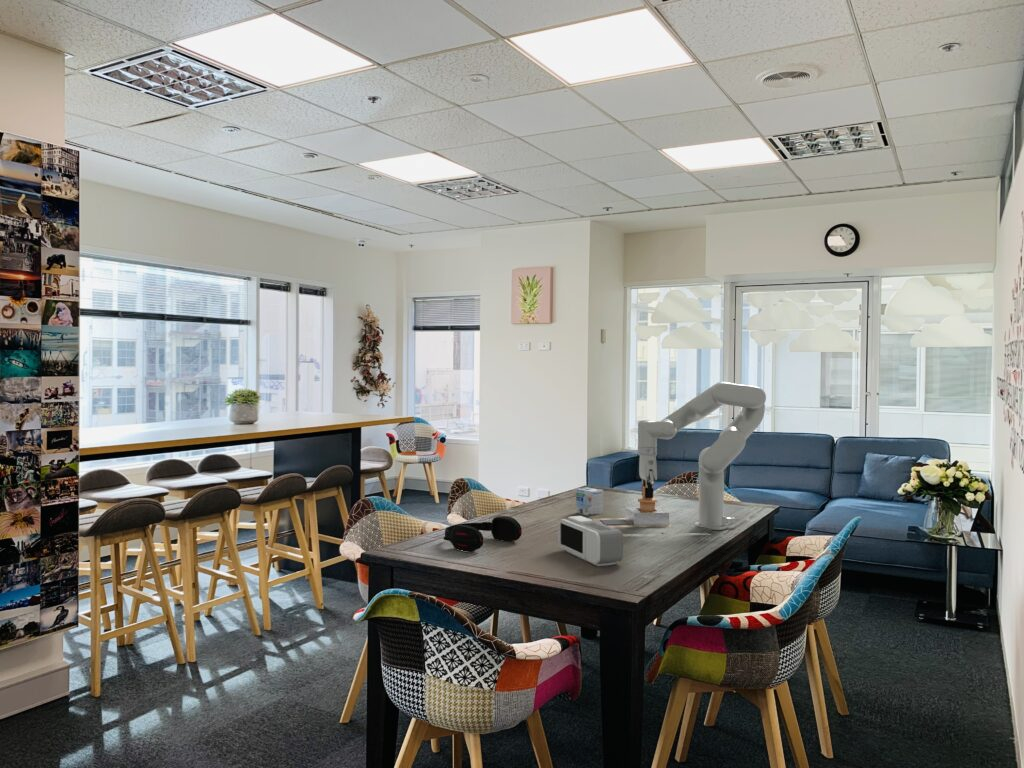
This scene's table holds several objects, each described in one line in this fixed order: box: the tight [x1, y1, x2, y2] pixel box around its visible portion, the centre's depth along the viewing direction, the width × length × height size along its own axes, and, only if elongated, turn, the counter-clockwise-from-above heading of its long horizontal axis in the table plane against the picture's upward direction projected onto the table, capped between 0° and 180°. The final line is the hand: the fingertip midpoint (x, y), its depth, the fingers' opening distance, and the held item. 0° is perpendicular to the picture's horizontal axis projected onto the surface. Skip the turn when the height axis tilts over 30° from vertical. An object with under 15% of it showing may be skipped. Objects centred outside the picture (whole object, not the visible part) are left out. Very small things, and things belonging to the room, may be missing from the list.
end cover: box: [637, 486, 658, 512], centre depth 310 cm, size 8×8×11 cm
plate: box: [592, 506, 674, 529], centre depth 310 cm, size 28×18×6 cm, turn 96°
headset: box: [443, 515, 523, 553], centre depth 273 cm, size 28×26×9 cm
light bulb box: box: [575, 486, 604, 517], centre depth 333 cm, size 11×7×11 cm, turn 37°
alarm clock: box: [557, 515, 624, 567], centre depth 255 cm, size 27×9×12 cm, turn 23°
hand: (647, 496), depth 310 cm, fingers closed on end cover, 4 cm apart
